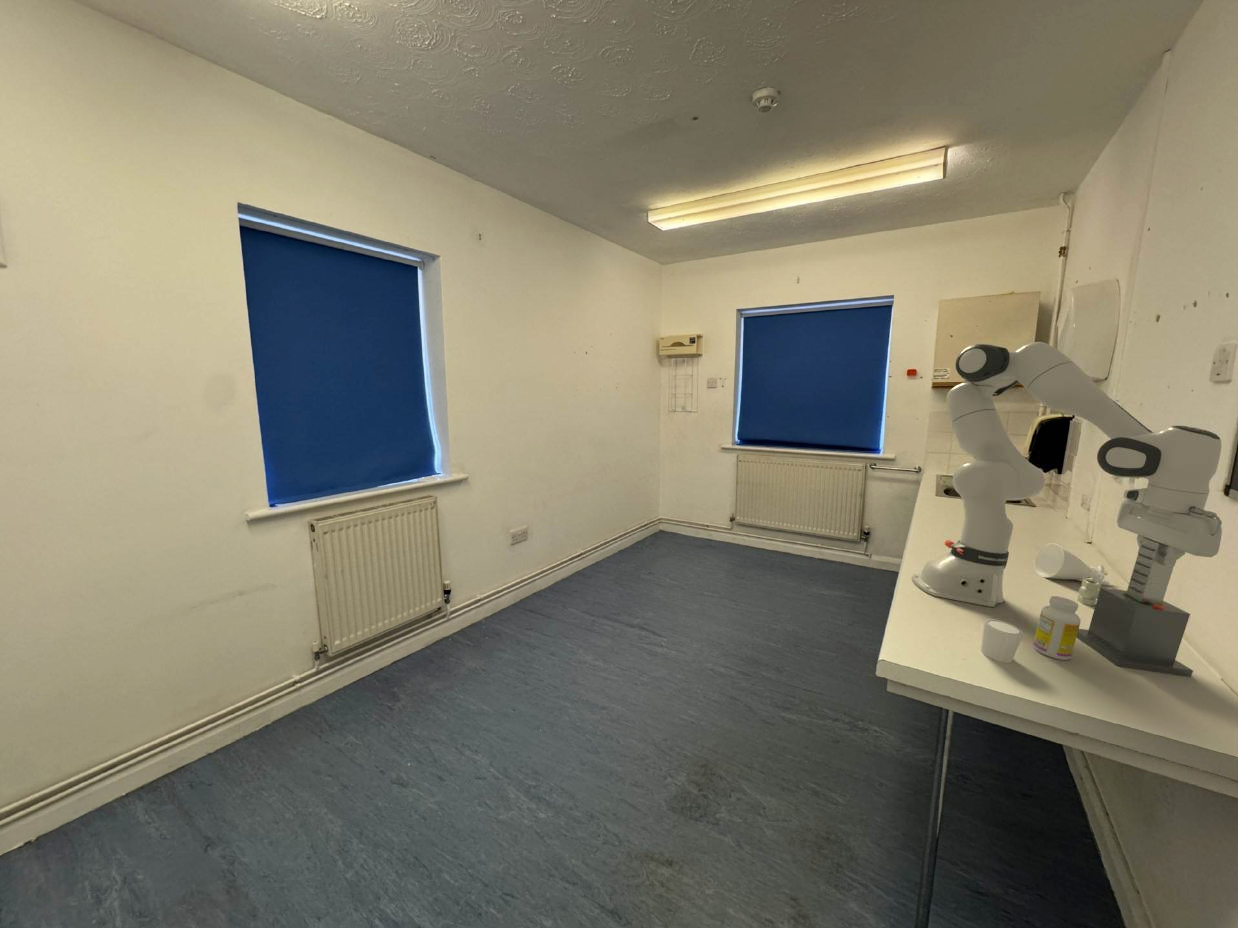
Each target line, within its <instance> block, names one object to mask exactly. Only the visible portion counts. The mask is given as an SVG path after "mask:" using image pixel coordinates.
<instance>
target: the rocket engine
mask: <svg viewBox="0 0 1238 928" xmlns="http://www.w3.org/2000/svg"><path fill="white" fill-rule="evenodd" d="M1034 570H1035V572H1036V574H1037V575H1039V577H1042V578H1047V579H1054V580H1056V579H1057V580H1074V581H1077V582H1082V581H1083V580H1085V579H1087V580H1092V581H1096V582H1098V583H1100V584H1101V585H1102V586H1106V587H1108V586H1110V583H1111V582H1109V580H1108V581H1107V580H1105V577H1106V576H1108V575H1109V574H1108V571H1106V570H1105V566H1104V565H1103V564H1098V565H1097V566H1089V564H1088V563H1087V562H1085V561H1084V560H1082V559H1081V558H1080V557H1079V556H1077V555H1075V553H1073V552H1072V551H1070V550H1069V549H1066V548H1065V547H1063V546H1061V545H1059V544H1057V543H1054V542H1052V543H1047V544H1045V545H1044V546H1042V547H1041V548H1040V549H1039V550H1038V552H1037V553H1036V555H1035V558H1034Z"/></svg>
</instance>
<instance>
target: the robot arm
mask: <svg viewBox="0 0 1238 928" xmlns="http://www.w3.org/2000/svg"><path fill="white" fill-rule="evenodd" d="M955 370H956V373H957V374H958V375H959V377H961V378H962V379H963V381H962V382H961V383H959V384H957V385H955V386H954V387H952V388H950V390H949V391H948V392H947V395H946V405H947V410H948V411H947V412H948V415H949V418H950V422H951V425H952V428H953V430H954V433H955V436H956V438H957V441H958V444H959V447H960V448H961V450H963V452H964V453H966V454H968V455H969V456H971V457H972V458H973V459H974V461H970V462H967V463H964V464H961V465H959V467H957V468H956V469H955V471H954V472H953V476H952V484H953V485H952V486H953V488H954V490H955V491H956V492H957V493H958V495H959V496H960V498H961V500H962V503H963V504H962V505H963V511H964V516H963V517H964V518H963V523H962V529H961V534H960V539H959V540H957V542H956V543H954V542H953V541H952V540H950V539H947V540H946V541H944V543H943V544H944V545H945V547H947V548H949V549H951V550H950V552H948V553H945V554H943V555H940V556H938V557H935V558H933V559H930V560H928V561H927V562H926V563H924V566H923V567H922V571H921V572H920V573H912V576H911V581H912V582H913V583H914V584H915V585H916V586H917V587H918V588H919V589H921V590H923V592H926V593H927V594H929V595H931V596H933V597H938V598H939V597H940V598H944V599H949V600H954V601H959V602H964V603H969V604H975V605H980V606H985V607H989V608H995V607H996V605H997V604H1001V603H1003V602H1004V595H1003V594H1004V593H1003V581H1004V580H1003V578H1004V577H1003V576H1004V572H1005V571H1004V570H1005V569H1006V566H1007V564H1008V560H1009V554H1010V552H1009V547H1010V544H1011V543H1010V542H1011V538H1012V534H1013V531H1014V524H1013V523H1012V521H1011V520H1010V519H1009V518H1008V516H1007V511H1006V502H1007V501H1021V500H1026V499H1029V498H1032V497H1034V496H1037V495H1038V494H1039V493H1041V492H1042V491H1043V489H1044V487H1045V485H1046V484H1045V483H1046V481H1045V476H1044V473H1043V472H1042V470H1040V468H1038V467H1037V466H1035V465H1034V464H1033V463H1031V462H1029V461H1028V460H1027V459H1026V458H1025V456H1024V455H1023V454H1022V453H1021V451H1020V450H1019V449H1018V448H1017V447H1016V446H1015V444H1014V443H1013V442H1012V440H1011V439H1010V437H1009V435H1008V434H1007V432H1006V429H1005V428H1004V425H1003V423H1002V420H1001V417H1000V416H999V413H998V411H997V408H996V406H995V404H994V400H993V397H997V396H1001V395H1002V394H1003V393H1004V392H1005V391H1008V390H1009V389H1012V388H1013V387H1015V386H1016V385H1018V384H1021V386H1022V387H1024V389H1025V390H1026V391H1027V392H1028V393H1029V394H1030V395H1031V396H1032V397H1033V398H1034V399H1035V400H1036V401H1038V402H1039V403H1041V404H1042V405H1043V406H1045V407H1046V408H1048V409H1051V410H1053V411H1056V412H1061V413H1063V414H1064V413H1065V414H1068V415H1073V416H1075V417H1079V418H1081V419H1084V420H1085V421H1087V422H1090V423H1091V424H1093V425H1095V427H1096V428H1097V429H1099V430H1100V431H1101V432H1102V433H1103V434H1105V435H1106V436H1107V437H1108V438H1109V440H1107V441H1105V442H1104V443H1103V444H1102V445H1101V446H1100V448H1099V449H1098V451H1097V453H1096V460H1097V464H1098V465H1099V467H1100V468H1101V469H1102V471H1104V472H1105V473H1107V474H1108V475H1112V476H1115V477H1118V478H1125V479H1126V478H1127V479H1130V478H1131V479H1147V480H1148V481H1147V482H1148V484H1147V486H1146V488H1135V489H1133V488H1132V489H1126V490H1124V492H1123V498H1124V499H1125V500H1123V501H1122V503H1121V505H1120V506H1119V509H1118V513H1117V518H1116V524H1117V526H1118V528H1120V529H1122V530H1125V531H1127V532H1130V533H1133V534H1136V535H1137V536H1136V541H1137V545H1138V551H1137V553H1138V552H1139V549H1140V546H1141V542H1142V539H1143V538H1149V539H1152V540H1154V541H1157V542H1160V543H1162V544H1165V545H1168V546H1169V547H1168V551H1170V552H1169V553H1168V554H1167V555H1166V556H1165V557H1164V556H1161V558H1160V562H1159V563H1160V564H1162V565H1164V566H1167V567H1173V568H1174V567H1175V566H1176V563H1177V560H1179V559H1180V558H1182V557H1183V556H1185V554H1186V553H1187V554H1189V555H1192V556H1195V557H1203V558H1212V557H1215V556H1216V555H1218V553H1219V551H1220V546H1221V541H1222V535H1223V531H1222V530H1223V529H1222V528H1223V527H1222V526H1223V525H1222V524H1223V520H1221V519H1220V517H1219V516H1218V514H1217V513H1215V512H1213V511H1210V510H1209V511H1208V510H1204V509H1205V506H1206V503H1207V501H1208V497H1209V494H1210V481H1211V480H1212V478H1213V477H1214V476H1215V474H1216V473H1217V470H1218V466H1219V462H1220V458H1221V454H1222V439H1221V437H1220V436H1219V435H1218V434H1216V433H1214V432H1212V431H1209V430H1205V429H1202V428H1196V427H1191V426H1187V425H1172V426H1168V427H1167V428H1163V429H1161V430H1158V431H1153V430H1150V429H1149V428H1147V426H1145V425H1144V424H1143V423H1142V422H1141V421H1139V420H1138V419H1136V417H1134V416H1133V415H1132V414H1130V412H1128V411H1127V410H1126V409H1125V408H1124V407H1122V406H1121V405H1119V404H1118V403H1117V402H1116V401H1115V400H1114V399H1112V398H1111V397H1110V396H1109V395H1108V394H1107V393H1106V392H1104V390H1103V389H1101V388H1100V387H1099V385H1097V384H1096V383H1095V382H1094V381H1093V380H1092V379H1091V378H1090V377H1089V375H1088V374H1086V372H1085V371H1084V370H1083V369H1081V368H1080V367H1079V366H1078V365H1077V364H1076V363H1075V362H1074V361H1073V360H1072V359H1071V358H1069V357H1068V356H1067V355H1066V354H1065V353H1063V352H1062V351H1060V350H1058V349H1057V348H1056V347H1054V346H1052V345H1050V344H1049V343H1046V342H1042V341H1034V342H1030V343H1028V344H1025V345H1023V346H1022V347H1019V349H1017V350H1015V351H1009V349H1007V348H1006V347H1002V346H997V345H992V344H986V343H979V344H973V345H969V346H967V347H965V348H964V349H963V350H961V352H960V353H959V354H958V356H957V357H956V360H955Z"/></svg>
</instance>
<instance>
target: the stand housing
mask: <svg viewBox="0 0 1238 928" xmlns="http://www.w3.org/2000/svg"><path fill="white" fill-rule="evenodd" d="M1099 591H1100V592H1099V595H1098V599H1096V600H1097V601H1096V604H1095V605H1094V610H1093V613H1092V616H1091V620H1090V624H1089V626H1088V629H1085V628H1079V629H1078V633H1077V637H1076V639H1078V640H1080V641H1081V642H1082V643H1084V644H1086V645H1087V646H1088V647H1090V649H1093V650H1094V651H1095V652H1096V653H1098V654H1100V655H1101V656H1102V657H1104V658H1105V659H1107V660H1108V661H1109V662H1111V663H1112V664H1113V665H1115V666H1117V667H1122V668H1128V669H1134V670H1141V671H1149V672H1155V673H1161V674H1167V675H1168V674H1169V675H1177V676H1183V677H1184V676H1185V677H1189V678H1190V677H1192V676H1193V672H1194V670H1193V669H1191V668H1190V667H1188V666H1187V665H1185V664H1183V663H1182V662H1179V661H1178V660H1177V659H1176V658H1177V656H1178V651H1179V650H1180V646H1181V642H1182V640H1183V637H1184V634H1185V631H1186V628H1187V626H1188V621H1189V619H1190V617H1191V613H1189V612H1187V611H1185V610H1183V609H1181V608H1180V607H1177V606H1175V605H1173V604H1171V603H1169V602H1168V601H1167V602H1166V601H1165V600H1163V602H1162V603H1163V605H1160V604H1156V603H1154V604H1153V605H1147V604H1140V603H1138V602H1136V601H1134V600H1132V599H1131V598H1129V597H1127V596H1125V593H1126V592H1127V590H1123V589H1115V588H1109V587H1108V588H1107V587H1100V590H1099Z"/></svg>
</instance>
